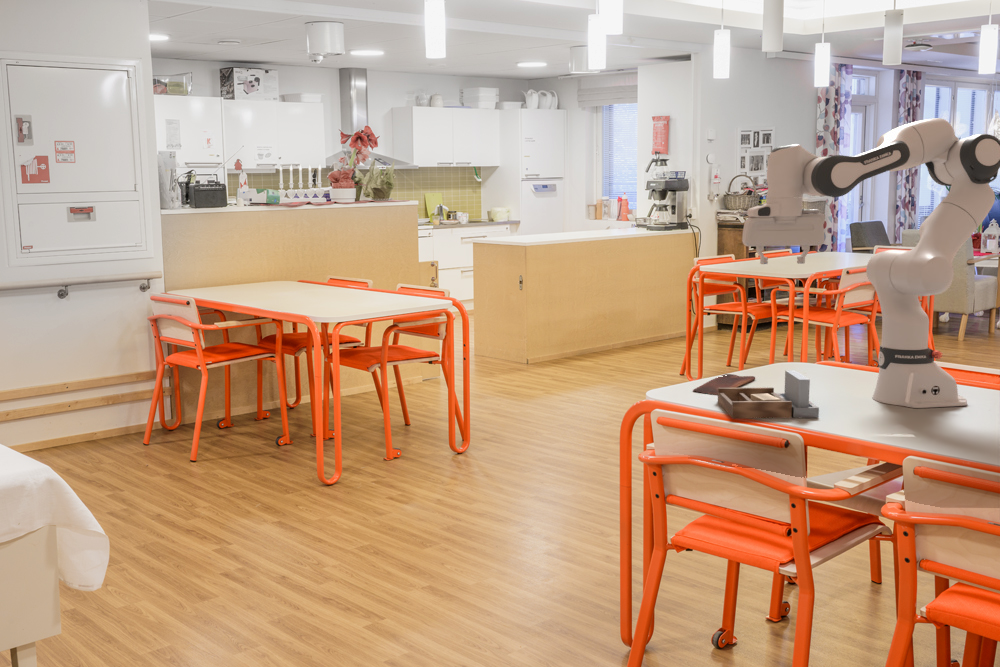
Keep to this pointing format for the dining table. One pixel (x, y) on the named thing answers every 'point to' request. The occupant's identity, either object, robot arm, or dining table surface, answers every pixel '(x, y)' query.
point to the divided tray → (752, 403)
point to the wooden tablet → (724, 383)
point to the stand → (803, 410)
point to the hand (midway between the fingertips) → (782, 263)
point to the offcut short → (763, 397)
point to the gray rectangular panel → (797, 388)
